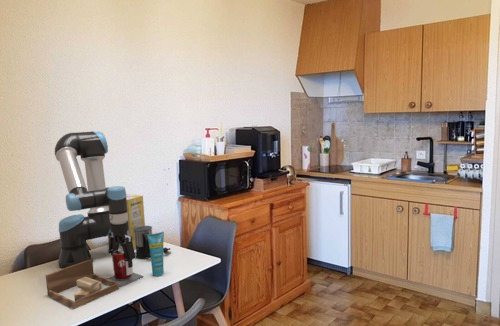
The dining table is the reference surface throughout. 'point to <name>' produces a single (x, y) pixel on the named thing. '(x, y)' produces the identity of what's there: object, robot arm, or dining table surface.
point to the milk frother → (143, 242)
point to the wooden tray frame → (69, 278)
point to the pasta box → (134, 215)
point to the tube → (156, 252)
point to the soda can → (120, 265)
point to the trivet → (127, 281)
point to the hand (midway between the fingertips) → (123, 271)
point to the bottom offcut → (85, 292)
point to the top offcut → (88, 284)
